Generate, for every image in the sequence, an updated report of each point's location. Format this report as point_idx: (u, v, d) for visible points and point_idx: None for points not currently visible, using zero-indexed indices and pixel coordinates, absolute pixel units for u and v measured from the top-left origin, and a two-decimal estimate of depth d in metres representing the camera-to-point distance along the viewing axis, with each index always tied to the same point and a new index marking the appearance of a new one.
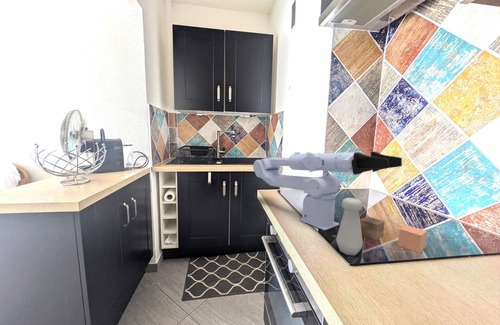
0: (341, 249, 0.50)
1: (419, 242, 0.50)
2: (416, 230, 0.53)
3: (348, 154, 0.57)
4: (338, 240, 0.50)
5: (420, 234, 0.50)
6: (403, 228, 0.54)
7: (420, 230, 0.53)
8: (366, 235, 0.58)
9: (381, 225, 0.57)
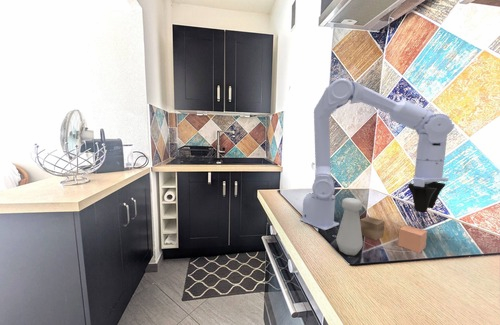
0: (341, 249, 0.50)
1: (419, 242, 0.50)
2: (416, 230, 0.53)
3: (437, 173, 0.53)
4: (338, 240, 0.50)
5: (420, 234, 0.50)
6: (403, 228, 0.54)
7: (420, 230, 0.53)
8: (366, 235, 0.58)
9: (381, 225, 0.57)
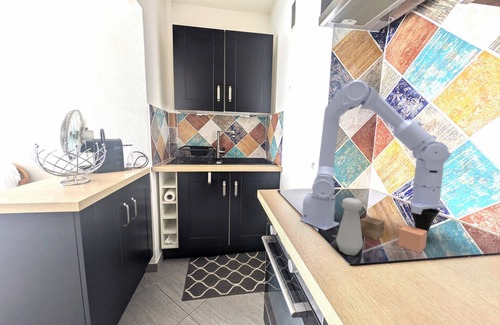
0: (341, 249, 0.50)
1: (419, 242, 0.50)
2: (416, 230, 0.53)
3: (434, 199, 0.54)
4: (338, 240, 0.50)
5: (420, 234, 0.50)
6: (403, 228, 0.54)
7: (420, 230, 0.53)
8: (366, 235, 0.58)
9: (381, 225, 0.57)
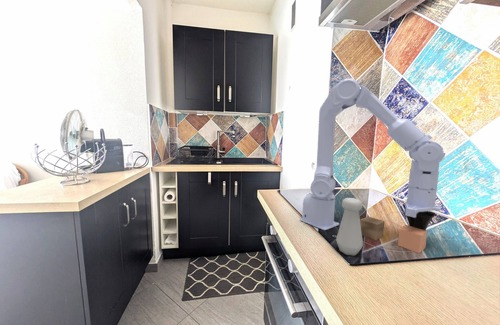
0: (341, 249, 0.50)
1: (419, 242, 0.50)
2: (416, 230, 0.52)
3: (430, 202, 0.51)
4: (338, 240, 0.50)
5: (420, 234, 0.50)
6: (403, 228, 0.54)
7: (420, 229, 0.53)
8: (366, 235, 0.58)
9: (381, 225, 0.57)
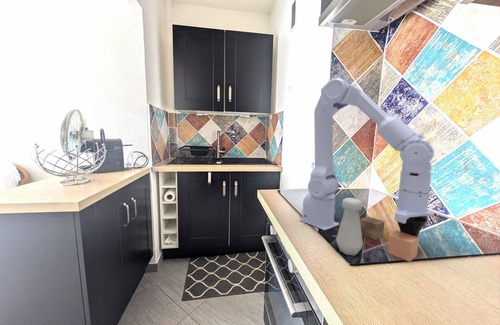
0: (341, 249, 0.50)
1: (409, 250, 0.46)
2: (407, 237, 0.49)
3: (421, 206, 0.48)
4: (338, 240, 0.50)
5: (410, 241, 0.47)
6: (393, 234, 0.50)
7: (411, 236, 0.49)
8: (366, 235, 0.58)
9: (381, 225, 0.57)
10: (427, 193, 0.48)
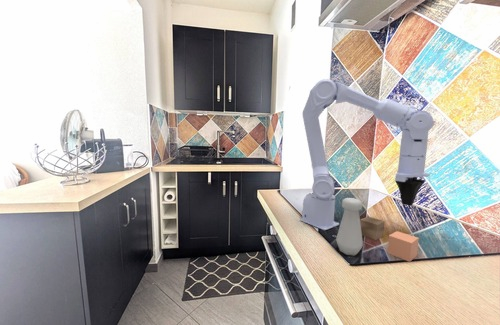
0: (341, 249, 0.50)
1: (409, 250, 0.46)
2: (406, 237, 0.49)
3: (419, 168, 0.54)
4: (338, 240, 0.50)
5: (410, 241, 0.47)
6: (393, 234, 0.50)
7: (411, 236, 0.49)
8: (366, 235, 0.58)
9: (381, 225, 0.57)
10: (424, 157, 0.54)
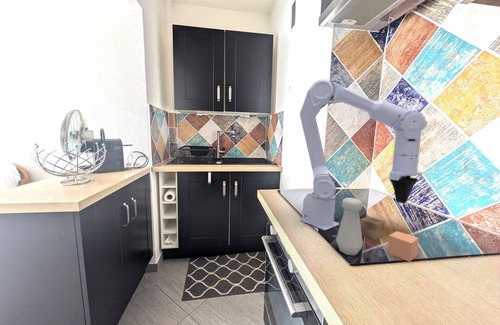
0: (341, 249, 0.50)
1: (409, 250, 0.46)
2: (407, 237, 0.49)
3: (412, 167, 0.56)
4: (338, 240, 0.50)
5: (410, 241, 0.47)
6: (393, 234, 0.50)
7: (411, 236, 0.49)
8: (366, 235, 0.58)
9: (381, 225, 0.57)
10: (417, 156, 0.56)
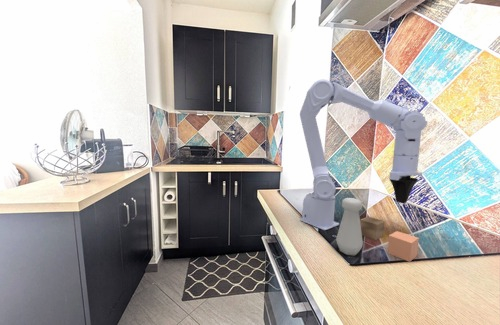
0: (341, 249, 0.50)
1: (409, 250, 0.46)
2: (406, 237, 0.49)
3: (412, 167, 0.56)
4: (338, 240, 0.50)
5: (410, 241, 0.47)
6: (393, 234, 0.50)
7: (411, 236, 0.49)
8: (366, 235, 0.58)
9: (381, 225, 0.57)
10: (417, 156, 0.56)
